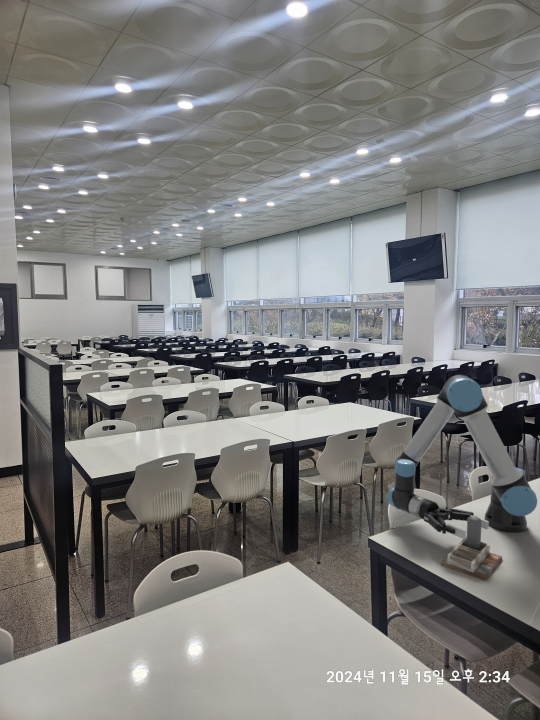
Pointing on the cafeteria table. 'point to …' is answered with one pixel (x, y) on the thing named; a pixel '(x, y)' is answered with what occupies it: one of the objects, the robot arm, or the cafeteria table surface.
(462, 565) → the socket board
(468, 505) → the cafeteria table surface
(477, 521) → the plug
